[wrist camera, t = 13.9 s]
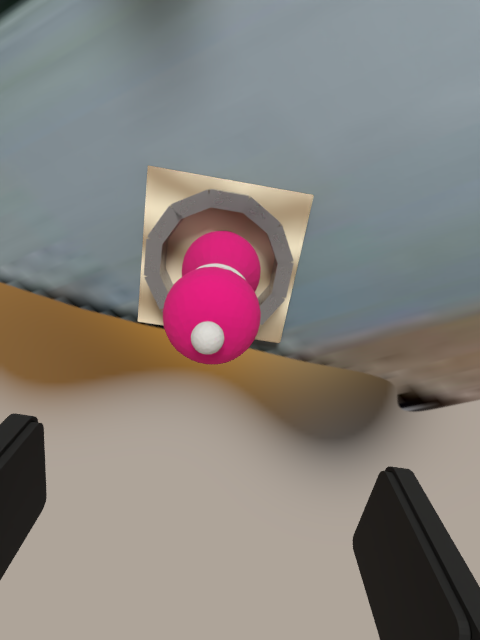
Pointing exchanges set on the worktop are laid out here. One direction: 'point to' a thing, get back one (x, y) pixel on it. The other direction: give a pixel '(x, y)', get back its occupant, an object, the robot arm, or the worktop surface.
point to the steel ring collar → (226, 201)
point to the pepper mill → (215, 299)
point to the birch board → (181, 185)
